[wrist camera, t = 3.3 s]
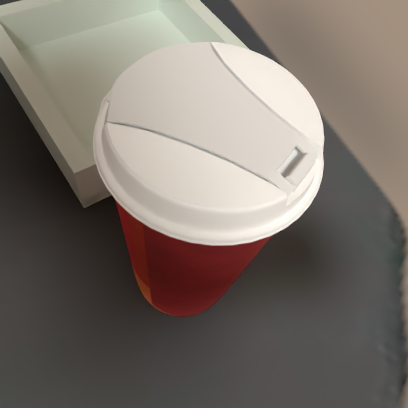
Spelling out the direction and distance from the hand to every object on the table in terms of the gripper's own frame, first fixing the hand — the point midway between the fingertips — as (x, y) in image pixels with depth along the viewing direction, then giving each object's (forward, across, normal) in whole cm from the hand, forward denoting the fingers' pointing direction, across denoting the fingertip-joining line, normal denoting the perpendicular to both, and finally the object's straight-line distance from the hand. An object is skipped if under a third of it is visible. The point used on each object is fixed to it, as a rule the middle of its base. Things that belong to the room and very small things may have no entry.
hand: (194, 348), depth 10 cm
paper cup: (+13, -1, -4) cm, 14 cm away
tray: (+23, -8, +6) cm, 25 cm away
